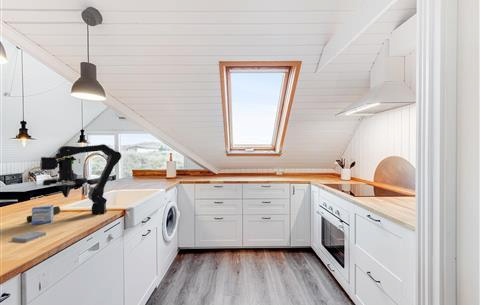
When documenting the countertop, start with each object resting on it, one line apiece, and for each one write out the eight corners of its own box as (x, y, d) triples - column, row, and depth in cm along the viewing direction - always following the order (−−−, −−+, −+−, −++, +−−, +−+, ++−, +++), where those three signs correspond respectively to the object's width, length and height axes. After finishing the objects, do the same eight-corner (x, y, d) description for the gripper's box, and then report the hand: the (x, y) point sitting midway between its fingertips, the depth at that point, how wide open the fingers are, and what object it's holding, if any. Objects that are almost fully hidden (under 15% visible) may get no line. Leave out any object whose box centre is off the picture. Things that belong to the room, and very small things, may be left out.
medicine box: (31, 225, 113) (31, 208, 113) (34, 222, 117) (34, 206, 117) (51, 222, 117) (50, 206, 117) (53, 220, 121) (53, 204, 121)
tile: (31, 231, 101) (11, 237, 94) (45, 232, 99) (26, 239, 92) (31, 234, 101) (12, 241, 94) (45, 236, 100) (26, 243, 92)
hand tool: (32, 223, 117) (32, 214, 117) (26, 223, 117) (25, 214, 117) (64, 213, 136) (64, 205, 136) (58, 213, 136) (58, 205, 136)
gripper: (90, 167, 131) (91, 193, 131) (54, 168, 127) (54, 195, 127) (82, 168, 120) (83, 197, 121) (41, 169, 116) (42, 199, 116)
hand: (66, 197), depth 121 cm, fingers closed
